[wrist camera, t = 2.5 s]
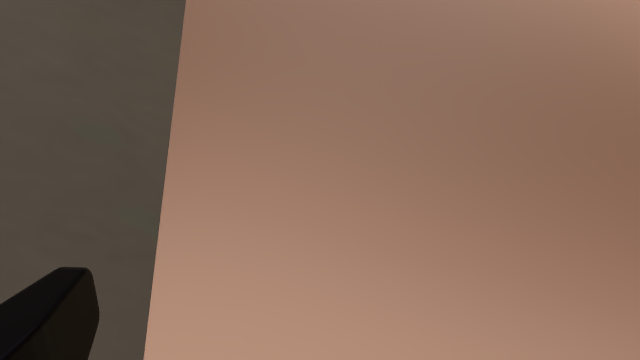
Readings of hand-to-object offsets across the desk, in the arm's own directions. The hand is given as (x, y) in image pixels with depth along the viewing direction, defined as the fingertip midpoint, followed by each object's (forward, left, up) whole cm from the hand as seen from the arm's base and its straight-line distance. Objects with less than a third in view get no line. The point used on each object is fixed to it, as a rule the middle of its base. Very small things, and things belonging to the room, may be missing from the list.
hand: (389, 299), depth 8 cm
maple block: (+1, 0, -9) cm, 9 cm away
